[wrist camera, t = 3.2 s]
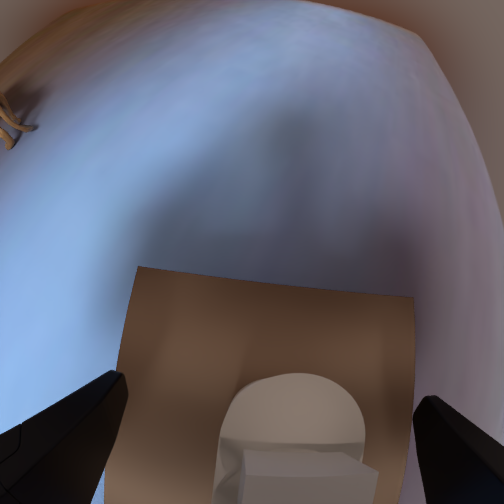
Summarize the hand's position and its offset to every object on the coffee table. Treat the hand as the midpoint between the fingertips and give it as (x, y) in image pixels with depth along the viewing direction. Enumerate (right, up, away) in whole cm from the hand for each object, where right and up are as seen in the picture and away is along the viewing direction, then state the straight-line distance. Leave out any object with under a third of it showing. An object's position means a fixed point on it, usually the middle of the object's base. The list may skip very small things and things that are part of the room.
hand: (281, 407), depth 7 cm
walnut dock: (0, -4, +6) cm, 7 cm away
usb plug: (0, -2, +2) cm, 3 cm away
